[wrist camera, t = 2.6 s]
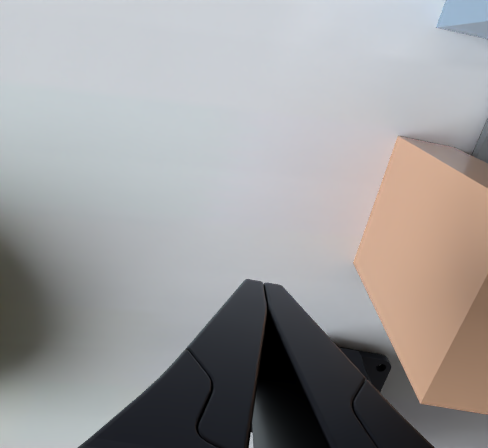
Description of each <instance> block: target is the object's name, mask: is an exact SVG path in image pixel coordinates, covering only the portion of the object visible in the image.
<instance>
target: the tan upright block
mask: <svg viewBox="0 0 488 448" xmlns="http://www.w3.org/2000/svg"><path fill="white" fill-rule="evenodd" d="M353 263H354V265H355V268H356V270H357V272H358V274H359V276H360V278H361V280H362V282H363V284H364V286H365V289H366V291H367V293H368V295H369V297H370V299H371V301H372V303H373V305H374V307H375V310H376V312H377V314H378V316H379V318H380V320H381V322H382V324H383V326H384V328H385V331H386V333H387V335H388V337H389V339H390V341H391V343H392V345H393V347H394V349H395V352H396V354H397V356H398V358H399V360H400V362H401V364H402V366H403V368H404V370H405V373H406V375H407V377H408V379H409V381H410V383H411V385H412V387H413V389H414V391H415V394H416V396H417V398H418V400H419V402H420V404H425V405H431V406H437V407H444V408H450V409H456V410H462V411H468V412H474V413H481V414H487V415H488V163H486V162H484V161H482V160H480V159H478V158H475V157H473V156H471V155H469V154H467V153H465V152H463V151H461V150H459V149H457V148H455V147H450V146H445V145H441V144H436V143H431V142H426V141H421V140H416V139H411V138H406V137H402V136H398V137H397V140H396V143H395V146H394V149H393V151H392V154H391V157H390V160H389V163H388V166H387V168H386V171H385V174H384V177H383V180H382V183H381V185H380V188H379V191H378V194H377V197H376V200H375V202H374V205H373V208H372V211H371V214H370V217H369V219H368V222H367V225H366V228H365V231H364V234H363V236H362V239H361V242H360V245H359V248H358V251H357V253H356V256H355V259H354V262H353Z"/></svg>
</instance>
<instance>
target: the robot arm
mask: <svg viewBox="0 0 488 448" xmlns="http://www.w3.org/2000/svg"><path fill="white" fill-rule="evenodd" d="M379 364H382V365H380V366H377V365H379ZM390 369H391V365H390V363H389V360H388V358H387V357H386V356H384V355H380V354H374V353H369V352H363V351H357V350H351V349H345V348H339V347H337V346H336V345H335V343H334V342H333V341H332V340H331V339H330V338H329V337H328V336H327V335H326V334H325V332H324V331H323V330H322V329H321V328H320V327H319V326H318V325H317V324H316V323H315V321H314V320H313V319H312V318H311V317H310V316H309V315H308V314H307V313H306V312H305V310H304V309H303V308H302V307H301V306H300V305H299V304H298V303H297V302H296V301H295V299H294V298H293V297H292V296H291V295H290V294H289V293H288V292H287V291H286V290H285V288H284V287H283V286H281V285H278V284H272V283H264V284H263V283H262V282H261V281H256V280H250V279H246V280H245V281H244V282H243V283H242V284H241V285H240V286H239V288H238V289H237V290H236V291H235V292H234V293H233V295H232V296H231V297H230V298H229V299H228V300H227V302H226V303H225V304H224V305H223V306H222V307H221V309H220V310H219V311H218V312H217V313H216V314H215V315H214V317H213V318H212V319H211V320H210V321H209V322H208V324H207V325H206V326H205V327H204V328H203V329H202V331H201V332H200V333H199V334H198V335H197V336H196V338H195V339H194V340H193V341H192V342H191V343H190V345H189V346H188V347H187V348H186V350H184V351H183V352H182V354H181V355H180V356H179V357H178V358H177V359H176V361H175V362H174V363H173V364H172V365H171V366H170V367H169V368H168V369H167V370H166V371H165V372H164V373H163V374H162V375H161V377H159V378H158V379H157V380H156V381H155V382H154V383H153V384H152V385H151V386H150V387H148V388H147V389H146V390H145V391H144V392H143V393H142V394H141V395H140V396H138V397H137V398H136V399H135V400H134V401H132V402H131V403H130V404H129V405H128V406H127V407H125V408H124V409H123V410H122V411H121V412H120V413H118V414H117V415H116V416H115V417H114V418H113V419H111V420H110V421H109V422H108V423H107V424H106V425H104V426H103V427H102V428H101V429H100V430H98V431H97V432H96V433H95V434H94V435H93V436H91V437H90V438H89V439H88V440H87V441H85V442H84V443H83V444H82V445H80V446H79V447H78V448H249V440H250V433H251V432H253V447H254V448H435V447H434V446H432V445H431V444H430V443H429V442H428V441H427V440H426V439H425V438H424V437H423V436H422V435H421V434H420V433H419V432H418V431H417V430H416V429H415V428H414V427H413V426H412V425H411V424H410V423H408V422H407V421H406V420H405V419H404V418H403V417H402V416H401V415H400V414H399V413H398V412H397V411H396V410H395V408H394V407H393V406H392V405H391V404H390V403H389V402H388V401H387V400H386V399H385V398H384V397H383V396H382V395H381V394H380V391H381V389H382V387H383V385H384V382H385V380H386V378H387V376H388V374H389V371H390Z"/></svg>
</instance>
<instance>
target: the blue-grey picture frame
mask: <svg viewBox="0 0 488 448" xmlns="http://www.w3.org/2000/svg"><path fill="white" fill-rule="evenodd" d="M436 28H440V29H445V30H449V31H454V32H458V33H463V34H467V35H472V36H476V37H481V38H485V39H488V0H446V1H445V4H444V7H443V10H442V13H441V15H440V18H439V21H438V24H437V27H436Z"/></svg>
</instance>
